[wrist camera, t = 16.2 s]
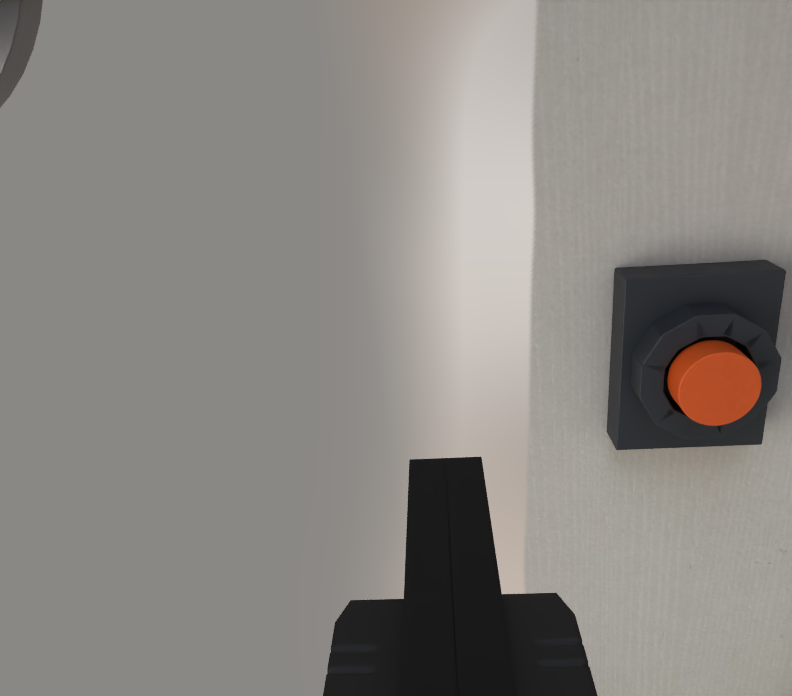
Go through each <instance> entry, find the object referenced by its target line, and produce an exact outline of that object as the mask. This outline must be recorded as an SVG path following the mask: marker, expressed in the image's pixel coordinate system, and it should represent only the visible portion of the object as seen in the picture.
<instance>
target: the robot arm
mask: <svg viewBox="0 0 792 696" xmlns="http://www.w3.org/2000/svg"><path fill="white" fill-rule="evenodd" d="M408 489H409V490H408V513H407V515H408V516H407V537H406V563H405V588H404V599H387V600H352V601H350V602H349V604H348V605H347V606H346V608H345V610H344V611H343V612H342V614H341V615H340V617H339V618H338V619H337V621H336V622H335V627H334V633H333V639H332V646H331V653H330V657H329V663H328V674H327V675H326V681H325V688H324V693H323V696H597V693H596V689H595V685H594V682H593V678H592V675H591V671H590V667H588V660H587V657H586V653H585V649H584V646H583V645H582V639H581V635H580V632H579V628H578V624H577V621H576V617H575V614H574V613H573V612H572V611H571V610H570V608H569V607H568V606H567V605H566V604H565V603H564V601H563V600H562V599H561V598H560V597H559V596H558V594H557V593H536V594H501V587H500V581H499V574H498V567H497V560H496V554H495V547H494V541H493V533H492V526H491V519H490V513H489V506H488V500H487V492H486V486H485V479H484V472H483V465H482V459H481V457H465V458H441V459H415V460H410V464H409V488H408Z"/></svg>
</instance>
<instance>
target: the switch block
mask: <svg viewBox="0 0 792 696" xmlns="http://www.w3.org/2000/svg"><path fill="white" fill-rule="evenodd" d="M785 273H786V271H785V270H784V269H782V268H780V267H778V266H776V265H775V264H773V263H771V262H769V261H767V260H757V261H738V262H720V263H701V264H683V265H664V266H646V267H627V268H615V273H614V294H613V315H612V336H611V357H610V378H609V399H608V420H607V433H608V435H609V436H610V438H611V440H612V442H613V444H614V446H615V448H616V450H627V449H653V448H679V447H705V446H731V445H757V444H762V439H763V432H764V424H765V417H766V410H767V403H768V402H769V401H770V400H771V398H772V397H773V396H774V394H775V393H776V391H777V385H778V378H779V371H780V364H781V357H780V355H779V353H778V351H777V349H776V347H775V345H776V338H777V331H778V324H779V316H780V309H781V302H782V295H783V288H784V280H785ZM706 340H719V341H724V342H727V343H729V344H732V345H733V346H735V347H736V348H737V349H738V350H740V351H741V352H742V353H743V354H744V355H745V356H747V357H748V358H749V359H750V360H751V361H752V362H753V363H754V364H755V365H756V367H757V368H758V370H759V372H760V376H761V382H762V385H761V392H760V395H759V398H758V400H757V402H756V403H755V405H754V406H753V408H752V409H751V410H750V411H749V412H748V413H747V414H745V415H744V416H743V417H741V418H740V419H738V420H736V421H734V422H732V423H728V424H725V425H719V426H709V425H704V424H700V423H697V422H695V421H693V420H692V419H690V418H689V417H688V416H687V415H686V414H685V413H684V412H683V411H682V409H681V408H680V407H679V405H678V404H677V403H676V401H675V400H674V399H673V397H672V396H671V394H670V392H669V389H668V384H667V378H668V372H669V369H670V367H671V364H672V363H673V361H674V359H675V358H676V357H677V356H678V355H679V354H680V353H681V352H682V351H683V350H684V349H686V348H687V347H689V346H691V345H693V344H695V343H698V342H701V341H706Z"/></svg>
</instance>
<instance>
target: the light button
mask: <svg viewBox="0 0 792 696" xmlns="http://www.w3.org/2000/svg"><path fill="white" fill-rule="evenodd" d="M667 384H668V389H669V392H670V394H671V396H672V397H673V399H674V400H675V401H676V403H677V404H678V405H679V407H680V408H681V409H682V411H683V412H684V413H685V414H686V415H687V416H688V417H689V418H690V419H692V420H693V421H695V422H697V423H700V424H704V425H709V426H719V425H725V424H728V423H732V422H734V421H736V420H738V419H740V418H741V417H743V416H744V415H745V414H747V413H748V412H749V411H750V410H751V409H752V408H753V406H754V405H755V403H756V402H757V400H758V398H759V395H760V392H761V385H762V382H761V376H760V372H759V370H758V368H757V367H756V365H755V364H754V363H753V362H752V361H751V360H750V359H749V358H748V357H747V356H745V355H744V354H743V353H742V352H741V351H740V350H738V349H737V348H736V347H735V346H733V345H732V344H729V343H727V342H724V341H719V340H706V341H701V342H698V343H695V344H693V345H691V346H689V347H687V348H686V349H684V350H683V351H682V352H681V353H680V354H679V355H678V356H677V357H676V358H675V359H674V361H673V363H672V364H671V367H670V369H669V372H668V378H667Z"/></svg>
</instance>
